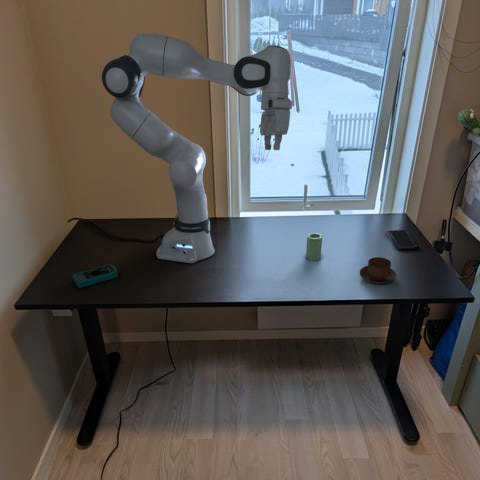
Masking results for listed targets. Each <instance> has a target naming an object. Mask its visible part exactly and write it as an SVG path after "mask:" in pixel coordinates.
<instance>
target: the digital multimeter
mask: <svg viewBox="0 0 480 480" xmlns="http://www.w3.org/2000/svg"><path fill="white" fill-rule="evenodd" d="M118 277H119V274H118V269H117V267H115V266H114V265H113V264H111V263H109V264H105V265H102V266H99V267H96V268H95V267H94V268H92V269H88V270H83V271H81V272H77V273H74V274H73V275H72V280H73V281H74V284H75V285H76V286H77V287H78V288H79V289H83V288H86V287H89V286H93V285H97V284H99V283H103V282H107V281H110V280H114V279H116V278H118Z"/></svg>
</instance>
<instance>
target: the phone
mask: <svg viewBox="0 0 480 480" xmlns="http://www.w3.org/2000/svg"><path fill="white" fill-rule="evenodd" d="M386 234H387V236H388V239H389V240H390V241H391V243H392V244H393V246H394V248H395V249H396V250H399V251H401V250H403V251H404V250H416V249H417V248H418V244H417V243H416V242H415V241H416V240H414V239H413V237H412V236H411V235H410V233H409V232H408V231H407V230H405V229H397V230H396V229H395V230H387V231H386Z"/></svg>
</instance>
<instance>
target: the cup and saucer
mask: <svg viewBox="0 0 480 480" xmlns="http://www.w3.org/2000/svg"><path fill="white" fill-rule="evenodd" d="M391 265H392V262H391V260H390V259H388V258H386V257H380V256H375V257H371V258H369V260H368V263H367V265H365V266H363V267H361V269H360V270H359V275H360V277H361V278H362V279H363V280H364V281H366V282H367V283H371V284H376V285H387V284H389V283H391V282H393V281H395V280H396V278H397V272H396V271H395V270H394V269H392V268H391Z"/></svg>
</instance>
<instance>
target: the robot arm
mask: <svg viewBox="0 0 480 480" xmlns="http://www.w3.org/2000/svg"><path fill="white" fill-rule="evenodd" d="M291 74H292V59H291V54H290V52H289V50H288V49H287V48H285V47H283V46H280V45H276V44H274V45H272V44H270V45H267V46H266V47H265V48H264V49H262V50H260V51H258V52H256V53H254V54H250V55H247V56H244V57H242V58H240V59H238V61H237V62H236V63H235V64H231V63H227V62H223V61H219V60H215V59H211V58H209V57H206V56H204V54H201V52H199V51H198V50H197V49H196V48H195V47H194V46H193V45H192V44H190V43H189V42H186V41H185V40H182V39H179V38H176V37H173V36H168V35H164V34H156V33H138V34H136V35H135V36H134V37H133V38H132V40H131V42H130V46H129V52H128V54H124V55H121V56H119V57H116V58H114V59H111V60H110V61H109V62H108V63H107V64H106V65H105V66H104V67H103V70H102V72H101V82H102V86H103V87H104V89H105V90H106V92H107V93H108V94H109V95H111V96H112V97H114V100H113V101H112V103H111V106H110V109H109V114H110V118H111V119H112V121H113V122H114V123H115V124H116V125H117V126H118V128H119V129H120V130H121V131H122V132H123V133H124V134H125V135H126V136H127V137H128V138H130V139H131V140H132V141H133V142H134V143H136V144H137V145H138V146H139V147H141V148H142V150H144V151H145V152H147V153H148V154H149V155H150V156H152V157H155V158H158V159H160V160H162V161H164V162H166V163H167V164H169V165H168V177H169V180H170V182H171V186H172V190H173V193H174V197H175V203H176V211H177V214H176V215H175V216H174V219H173V222H172V226H173V227H172V228H171V229H170V230H168V231H167V230H166V231H164V232H162V233H160V234H159V235H157V236H156V237H155V238H154V239H145V238H140V237H135V236H134V237H132V236H122V235H116V234H113V233H111V232H109V231H107V230H106V229H104V228H103V227H102V226H101V225H100V224H98V223H96V222H95V221H94V220H92V219H87V218H82V217H71V218H70V219H68V220H67V223H70V222H72V221H83V222H88V223H91V224H93V225H94V226H96V227H97V228H98V229H100V230H101V231H102V232H103V233H105V234H107V235H108V236H110V237H113V238H115V239H121V240H131V241H133V240H134V241H140V242H145V243H154V242H157V241H158V240H159V239H160V238H161V244H160V245H159V246H158V248H157V250H156V252H155V253H156V255H155V256H156V258H157V259H159V260H166V261H173V262H180V263H187V264H194V263H197V262H199V261H201V260H204V259H207V258H210V257H211V256H213V255H214V254H215V251H216V249H215V247H214V244H213V240H212V235H211V221H210V215H209V212H208V211H209V210H208V200H207V194H206V190H205V187H204V180H203V179H204V178H203V175H204V169H205V167H206V163H207V159H206V158H207V157H206V153H205V151H204V149H203V147H202V146H200V144H197V143H195V142H192V141H191V140H189V139H188V138H186V137H185V136H184V135H182V134H180V133H179V132H177V131H176V130H174V129H173V128H171V127H170V126H169V125H168V124H166V123H165V122H164V121H163V120H162V119H160V118H159V117H158V116H157V115H156V114H155V113H153V112H152V111H151V110H150V108H148V107H146V106H145V105H144V104H143V103H142V101H141V100H140V98H141V96H142V92H143V89H144V86H145V84H146V83H145V81H146V76H148V75H155V76H160V77H165V78H168V79H169V78H170V79H179V80H202V81H203V80H204V81H208V82H211V83H216V84H220V85H224V86H228V87H230V88H232V89H233V90H235V91H236V92H237V93H238V94H240V95H242V96H245V97H252V96H254V95H257V94H258V93H259V92H260V91H261V99H260V110H261V111H263V112H261V116H260V125H259V133H260V136H263V140H264V150H265V151H271V150H273V151H280V149H281V144H282V140H283V136H286V135H288V132H289V129H290V121H291V110H292V109H293V106H294V105H293V104H294V103H293V101H292V100H291V99H290V88H289V86H290V82H291V76H292V75H291ZM273 136H274V141H273V142H274V143H273V146H272V137H273ZM272 147H273V149H272Z"/></svg>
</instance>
